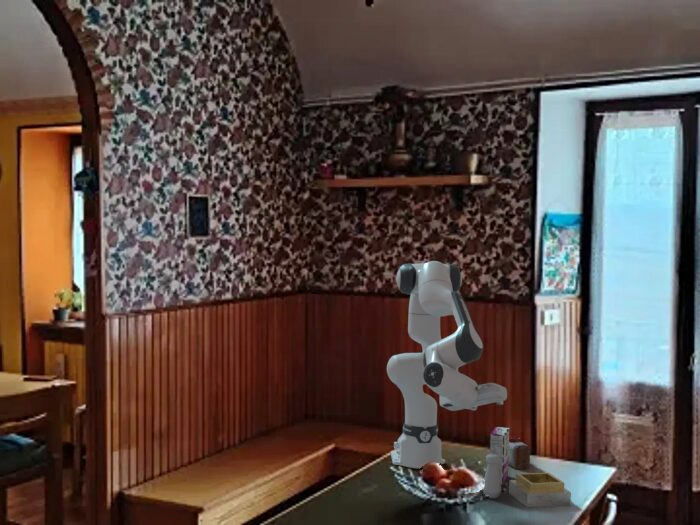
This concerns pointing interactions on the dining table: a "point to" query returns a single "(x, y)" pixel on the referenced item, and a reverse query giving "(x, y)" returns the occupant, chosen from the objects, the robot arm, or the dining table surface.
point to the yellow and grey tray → (539, 490)
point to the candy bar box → (500, 450)
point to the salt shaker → (492, 477)
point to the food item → (518, 453)
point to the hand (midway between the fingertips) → (488, 405)
